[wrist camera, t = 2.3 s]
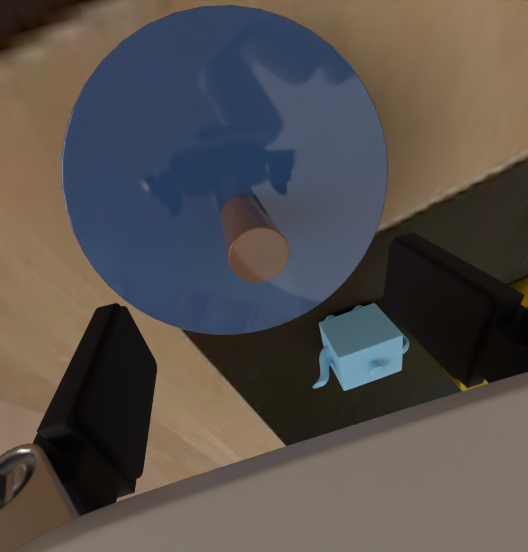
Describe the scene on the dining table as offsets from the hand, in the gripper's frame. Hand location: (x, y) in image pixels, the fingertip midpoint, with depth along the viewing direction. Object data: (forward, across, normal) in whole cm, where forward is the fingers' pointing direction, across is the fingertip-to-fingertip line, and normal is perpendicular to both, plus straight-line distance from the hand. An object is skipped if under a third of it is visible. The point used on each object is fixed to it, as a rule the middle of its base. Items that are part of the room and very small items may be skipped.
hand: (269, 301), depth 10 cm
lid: (+9, 0, 0) cm, 9 cm away
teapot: (+16, -10, +20) cm, 28 cm away
